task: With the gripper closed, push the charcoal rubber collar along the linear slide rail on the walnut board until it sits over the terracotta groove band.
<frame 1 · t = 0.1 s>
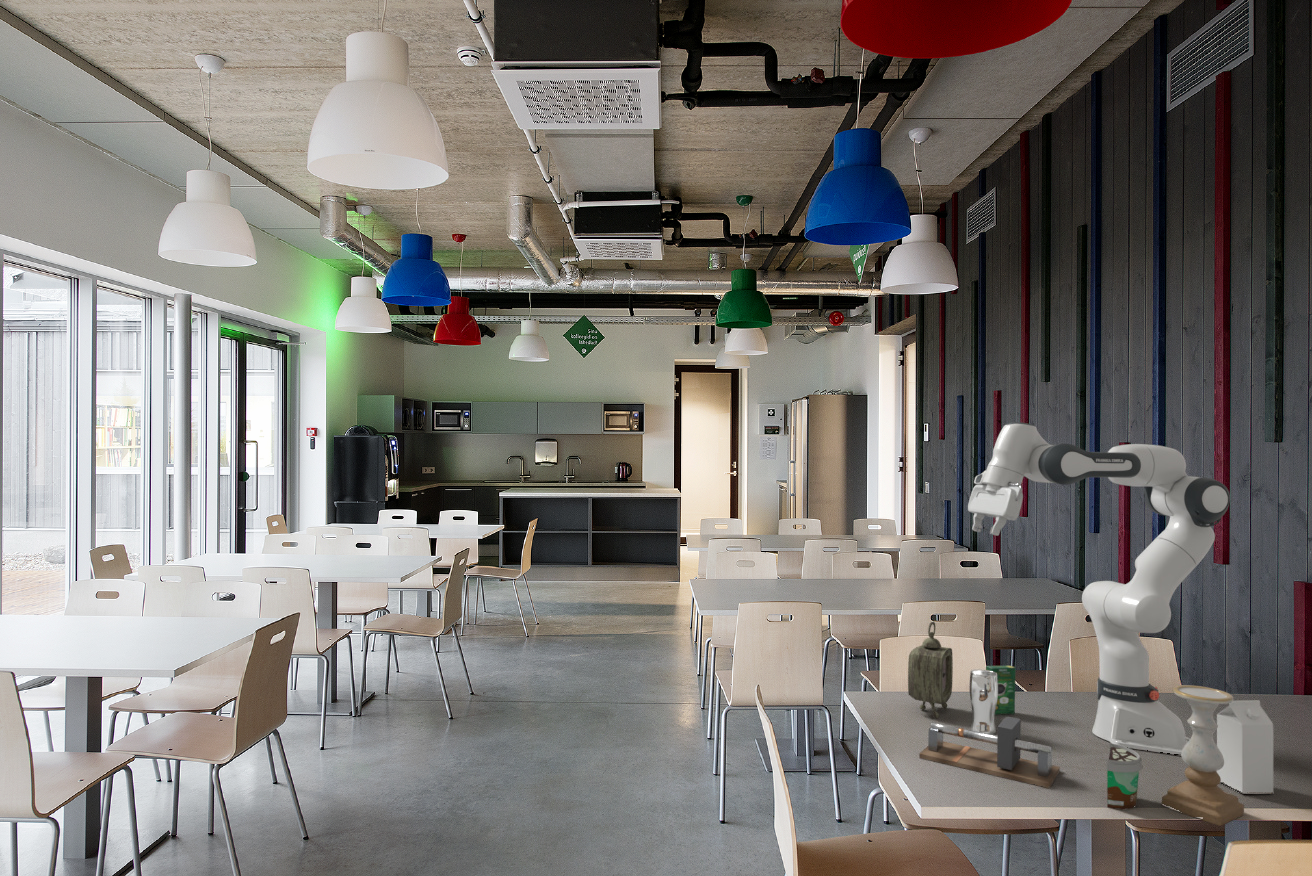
hand: (984, 533, 205), 52 cm above the table, tool tilted 20°, fingers open, 8 cm apart
collar: (1009, 742, 183), point 6 cm above the table, slide at 0.0 cm
food container: (1125, 803, 166), on the table
tabletop clock: (929, 712, 224), on the table
linear slide rail: (988, 747, 186), on the board, point 4 cm above the table
board: (988, 764, 186), on the table
beer glass: (983, 731, 209), on the table
milk carton: (1244, 789, 174), on the table
candle holder: (1202, 811, 163), on the table
coffee box: (1000, 714, 224), on the table
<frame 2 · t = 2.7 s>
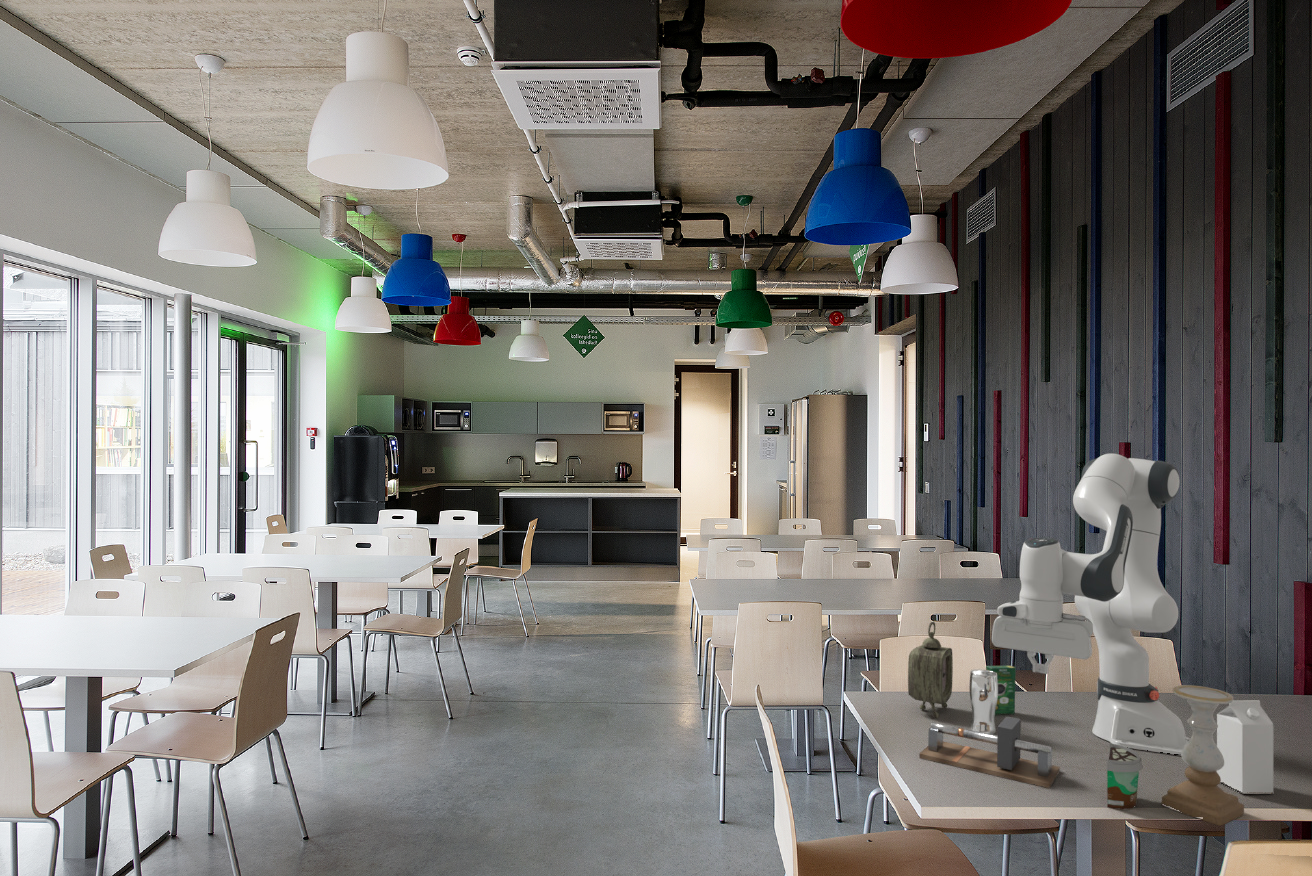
hand: (1040, 672, 180), 23 cm above the table, tool pointing down, fingers closed
nothing on the table moved.
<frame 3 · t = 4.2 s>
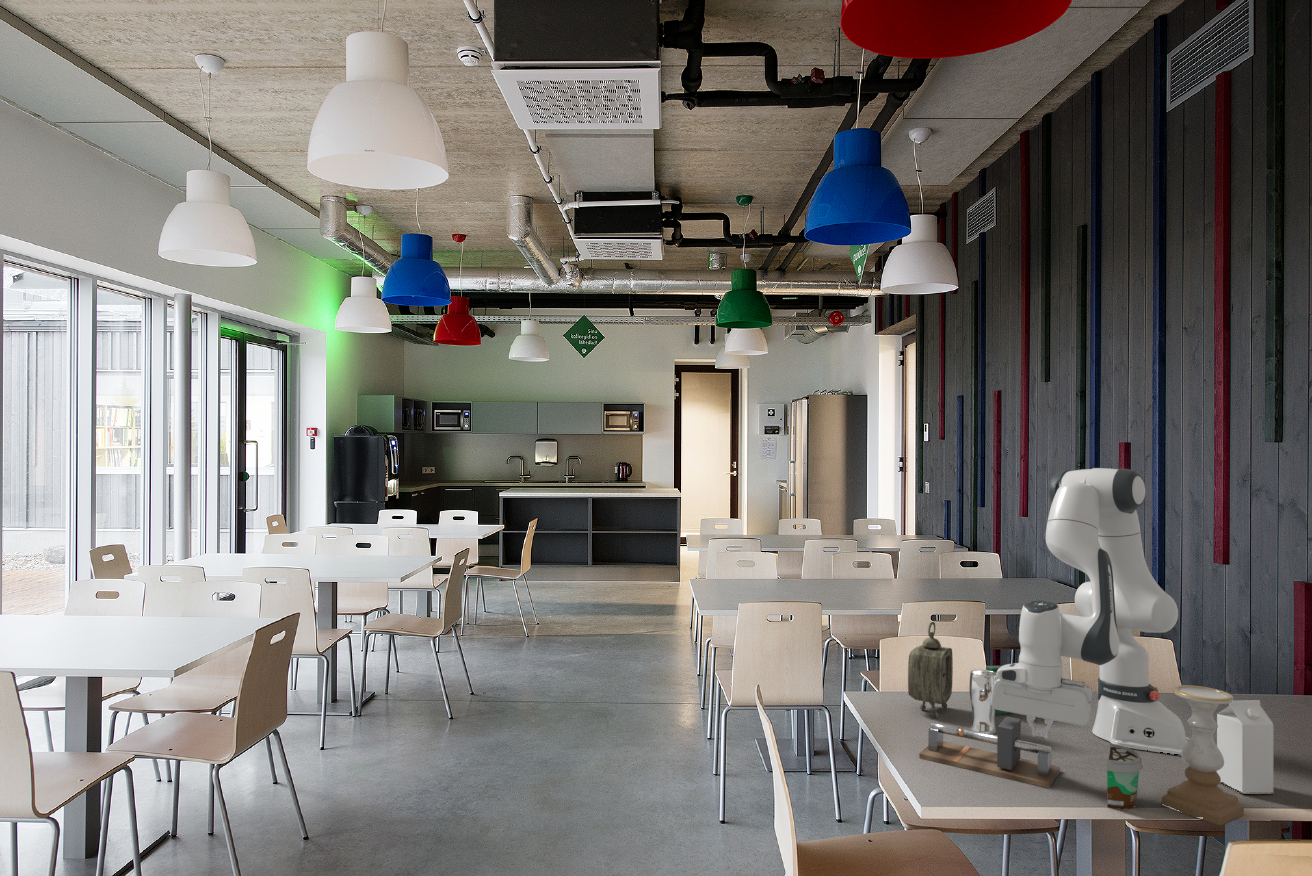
hand: (1039, 737, 179), 9 cm above the table, tool pointing down, fingers closed
nothing on the table moved.
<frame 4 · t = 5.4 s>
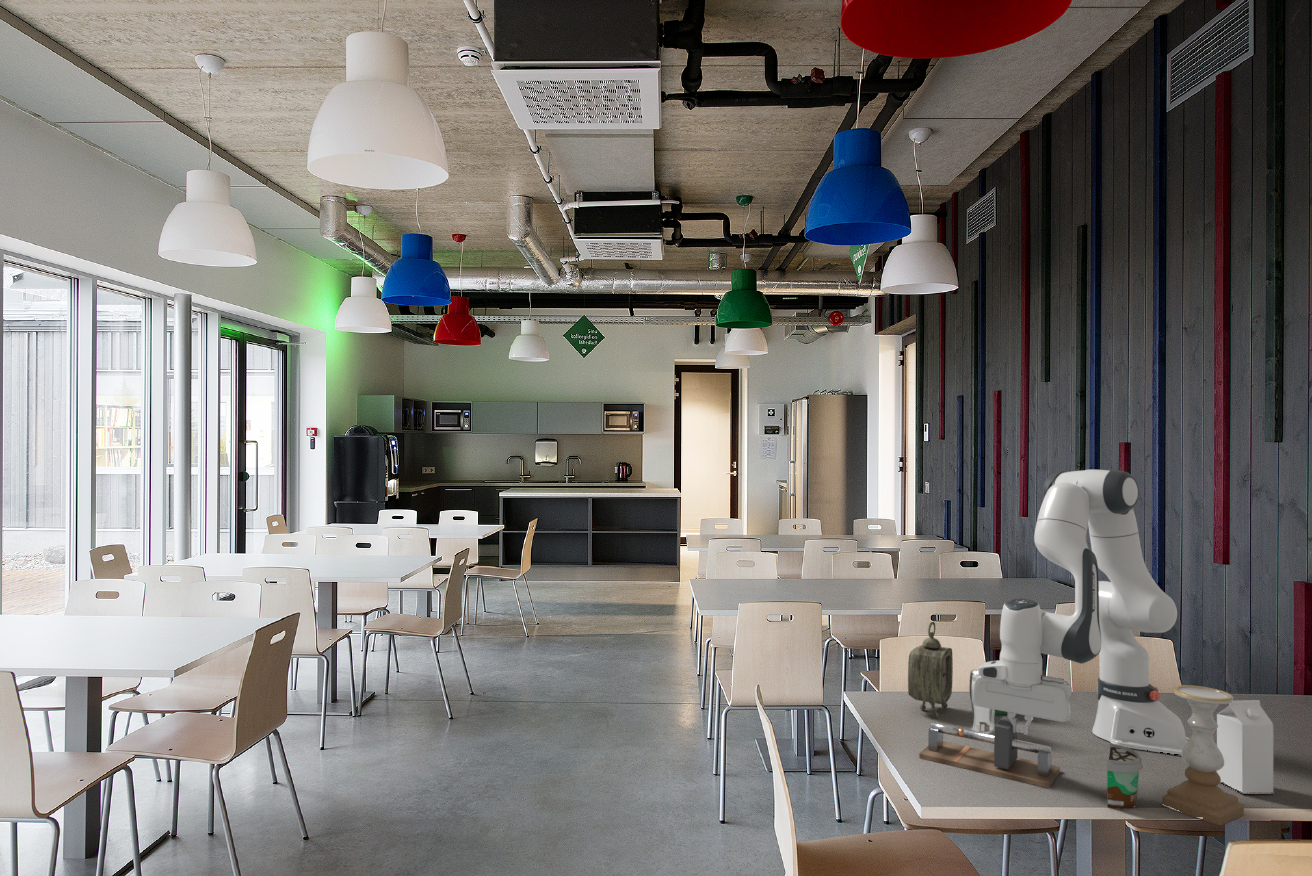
hand: (1020, 733, 182), 9 cm above the table, tool pointing down, fingers closed
collar: (1006, 742, 184), point 6 cm above the table, slide at 0.6 cm, touching gripper
everything else where it was.
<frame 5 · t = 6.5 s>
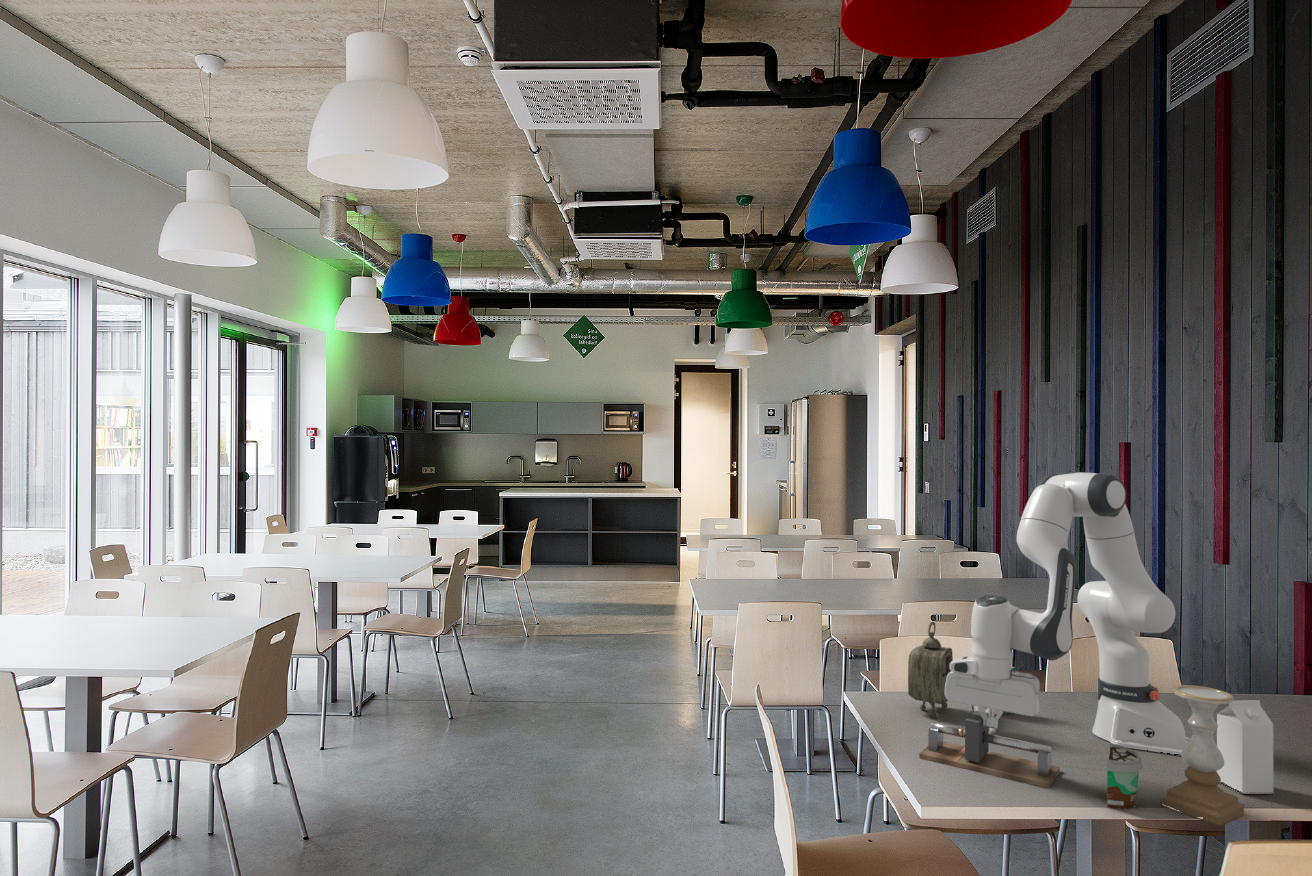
hand: (990, 727, 186), 9 cm above the table, tool pointing down, fingers closed
collar: (977, 736, 187), point 6 cm above the table, slide at 7.0 cm, touching gripper
everything else where it was.
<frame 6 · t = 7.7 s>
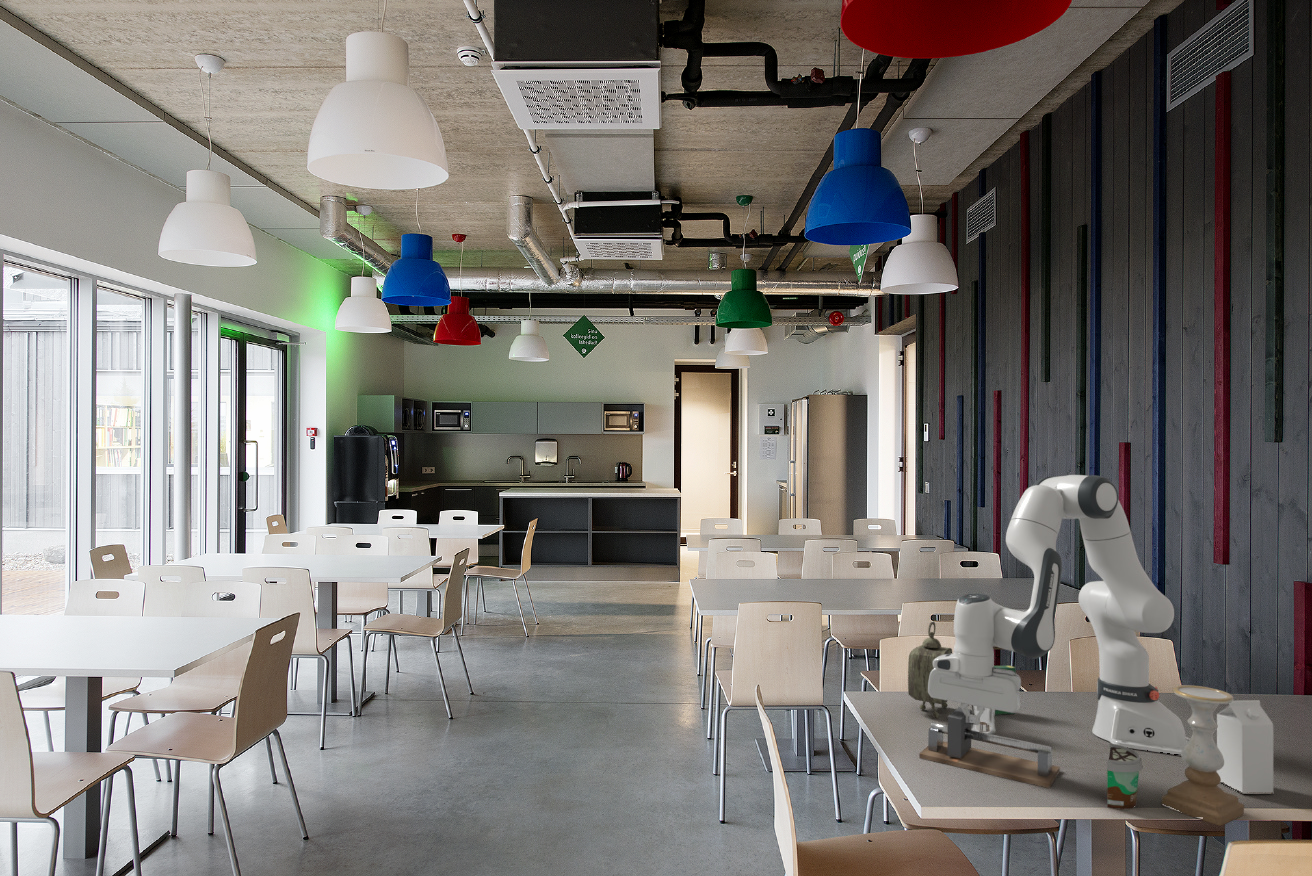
hand: (972, 723, 188), 9 cm above the table, tool pointing down, fingers closed
collar: (959, 732, 190), point 6 cm above the table, slide at 11.0 cm, touching gripper
everything else where it was.
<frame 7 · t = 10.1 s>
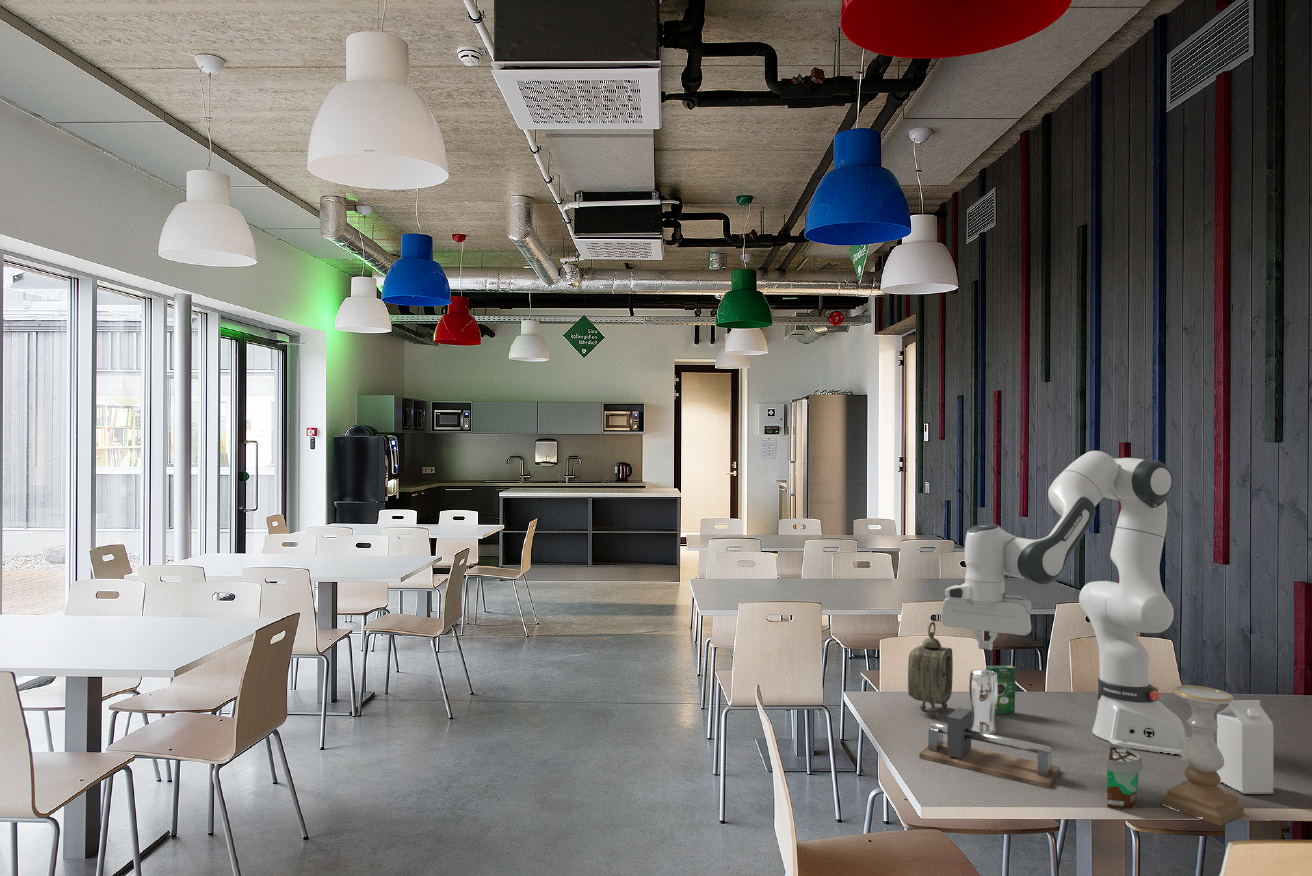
hand: (985, 649, 194), 25 cm above the table, tool pointing down, fingers closed
collar: (959, 732, 190), point 6 cm above the table, slide at 11.0 cm
everything else where it was.
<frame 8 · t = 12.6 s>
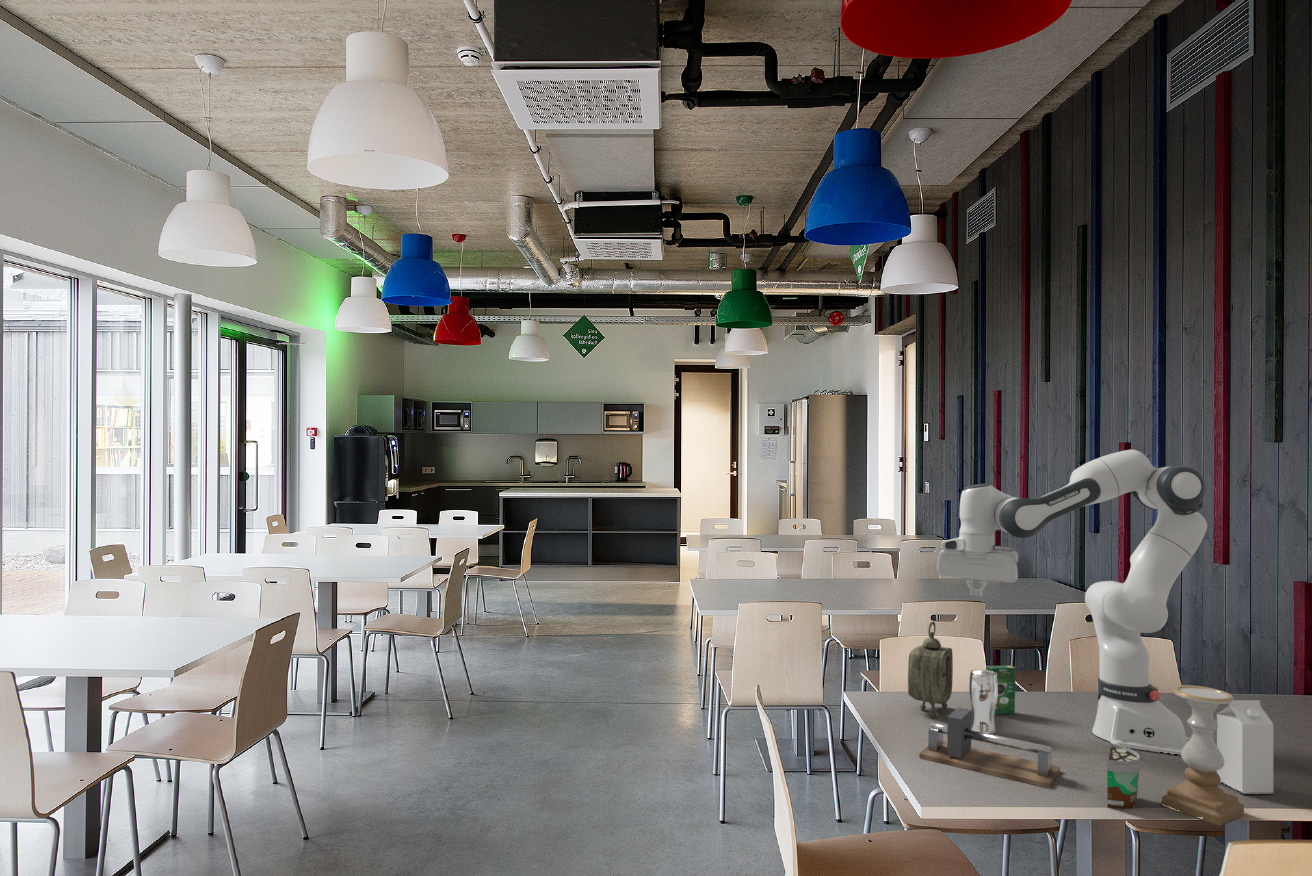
hand: (976, 596, 215), 34 cm above the table, tool pointing down, fingers closed
nothing on the table moved.
at the end: collar slide at 11.0 cm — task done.
